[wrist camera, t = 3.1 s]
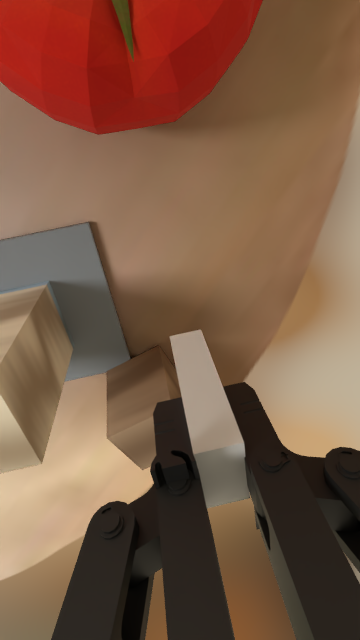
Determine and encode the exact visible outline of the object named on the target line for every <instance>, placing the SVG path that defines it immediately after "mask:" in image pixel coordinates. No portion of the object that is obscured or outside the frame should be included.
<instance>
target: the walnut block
mask: <svg viewBox="0 0 360 640" xmlns="http://www.w3.org/2000/svg"><path fill="white" fill-rule="evenodd" d="M180 397H182V396H181V391H180V386H179V381H178V376H177V371H176V369H175V368H174V366H173V365H172V364H171V362H170V361H169V359H168V358H167V356H166V355H165V354H164V352H163V351H162V349H161V348H160V346H159V345H158V346H156V347H154V348H152V349H150V350H148V351H146V352H144V353H142V354H140V355H138V356H136V357H134V358H132V359H130V360H128V361H126V362H124V363H122V364H120V365H118V366H116V367H114V368H112V369H110V370H108V371H107V439H108V440H110V441H111V442H112V443H113V444H114V445H115V446H116V447H117V448H118V449H120V450H121V451H122V452H123V453H124V454H125V455H126V456H127V457H129V458H130V459H131V460H132V461H133V462H134V463H135V464H136V465H137V466H139V467H140V468H141V469H142V470H144V469H146V468H148V467H151V463H152V462H153V460H154V458H155V456H156V445H155V433H154V420H153V412H154V409H155V407H156V405H157V402H162V401H166V400H171V399H175V398H180Z"/></svg>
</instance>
